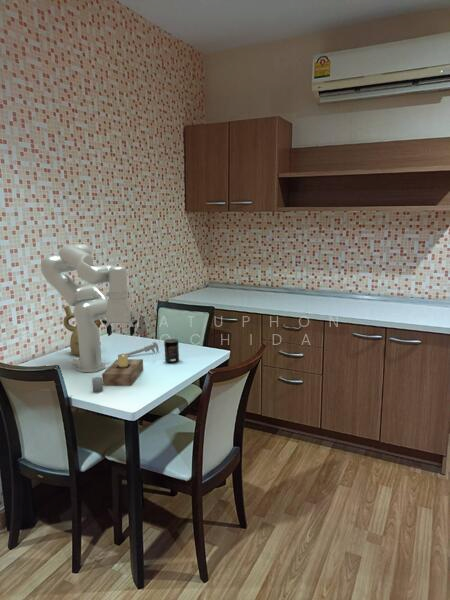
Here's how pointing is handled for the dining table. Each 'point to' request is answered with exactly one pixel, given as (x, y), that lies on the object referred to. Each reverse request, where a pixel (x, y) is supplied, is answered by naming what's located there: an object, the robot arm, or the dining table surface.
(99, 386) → the short pin
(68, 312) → the ceramic vessel
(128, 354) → the caliper
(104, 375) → the hole block
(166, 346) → the supplement container
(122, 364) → the long pin
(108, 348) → the dining table surface
